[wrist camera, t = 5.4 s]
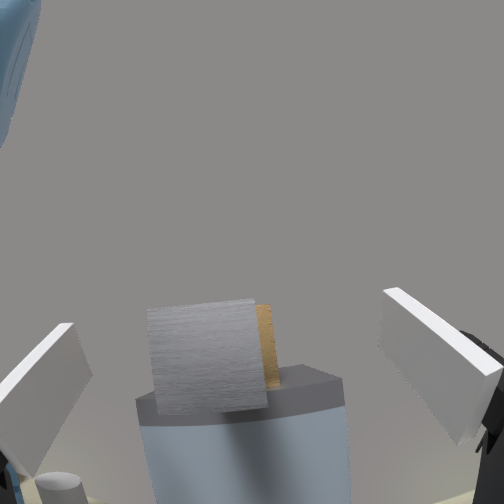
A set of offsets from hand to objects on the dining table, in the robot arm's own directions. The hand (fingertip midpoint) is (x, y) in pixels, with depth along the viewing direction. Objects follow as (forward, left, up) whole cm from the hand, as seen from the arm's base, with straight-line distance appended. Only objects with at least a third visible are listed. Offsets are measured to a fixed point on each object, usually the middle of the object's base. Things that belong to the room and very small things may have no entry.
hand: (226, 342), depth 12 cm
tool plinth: (-8, +14, -33) cm, 37 cm away
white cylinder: (-40, +7, -34) cm, 53 cm away
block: (-4, +7, -3) cm, 9 cm away
